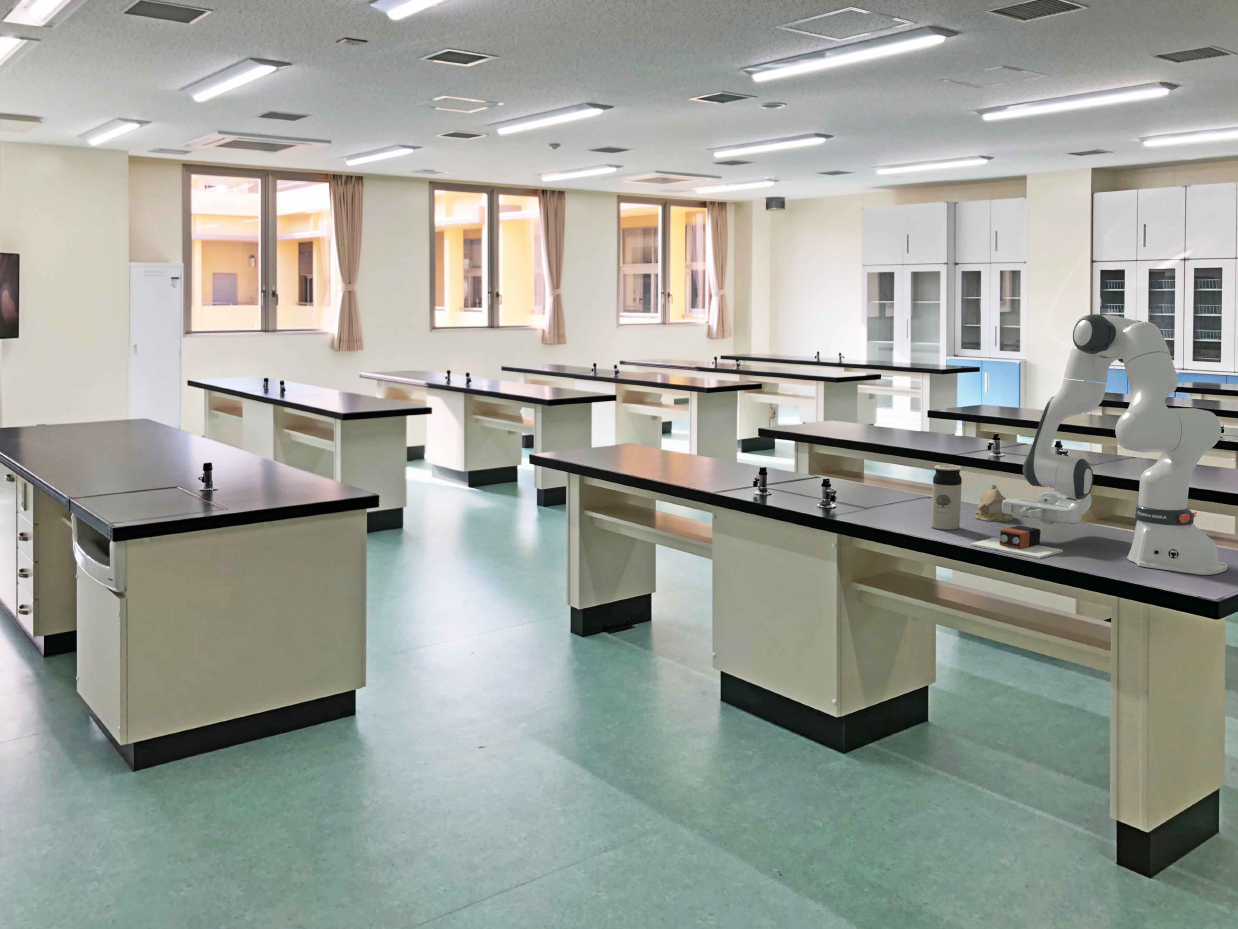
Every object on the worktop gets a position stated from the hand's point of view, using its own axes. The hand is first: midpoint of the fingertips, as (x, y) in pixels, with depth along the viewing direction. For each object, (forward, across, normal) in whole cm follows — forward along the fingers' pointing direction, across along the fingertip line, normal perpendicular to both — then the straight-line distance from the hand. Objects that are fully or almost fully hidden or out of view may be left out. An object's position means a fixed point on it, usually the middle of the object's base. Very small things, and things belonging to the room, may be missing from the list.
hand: (1024, 513), depth 294 cm
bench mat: (+4, 0, +9) cm, 10 cm away
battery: (-4, 0, +6) cm, 7 cm away
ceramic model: (-31, -28, +9) cm, 43 cm away
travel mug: (-6, -28, +9) cm, 30 cm away
